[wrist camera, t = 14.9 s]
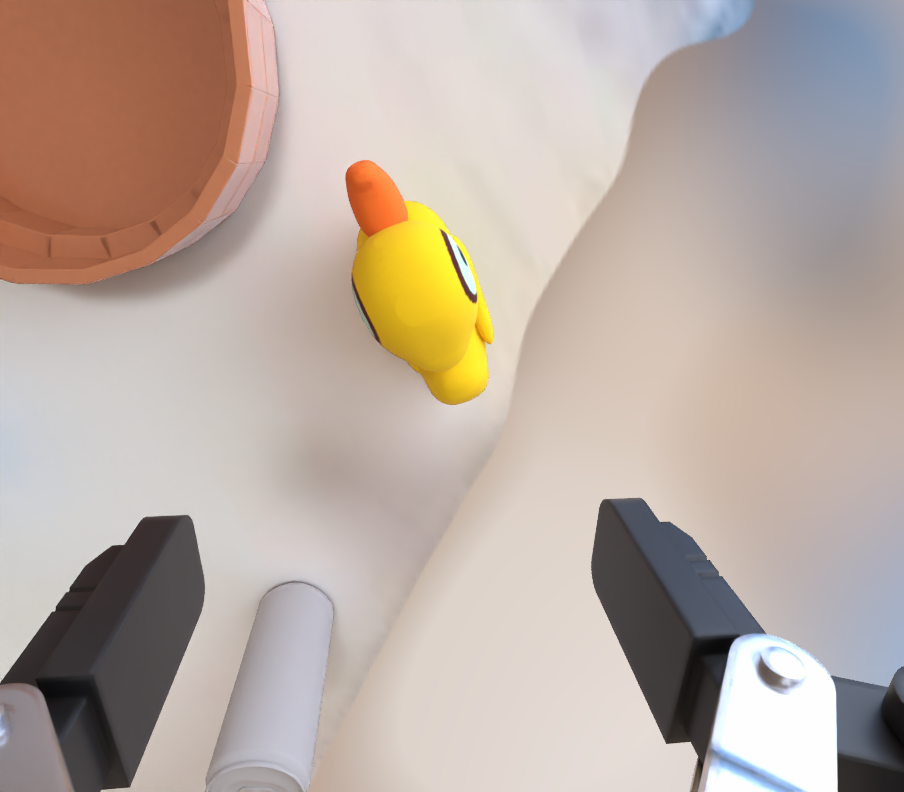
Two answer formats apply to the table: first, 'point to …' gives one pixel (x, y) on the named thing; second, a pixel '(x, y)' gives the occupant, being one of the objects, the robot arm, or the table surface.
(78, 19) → the bowl
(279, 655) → the beverage can
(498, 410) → the table surface
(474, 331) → the duckling
